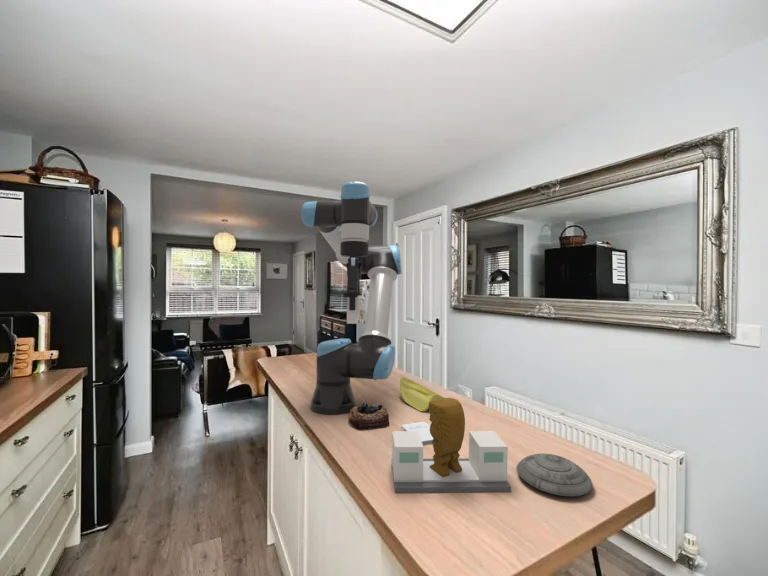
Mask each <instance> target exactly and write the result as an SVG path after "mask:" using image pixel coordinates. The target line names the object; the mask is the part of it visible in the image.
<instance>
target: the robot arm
mask: <svg viewBox="0 0 768 576" xmlns="http://www.w3.org/2000/svg"><path fill="white" fill-rule="evenodd" d="M370 194H371V193H370V186H369V185H368V184H367V183H365V182H361V181H348V182H345V183H343V185H342V186H341V191H340V200H323V201H322V200H321V201H317V200H315V201H307V202H304V203H303V204H302V206H301V212H300V213H301V214H300V216H301V221H302V223H303V226H305V227H308V228H309V227H310V228H317V230H318V231H319V232H320V234H321V235H322V237H323V238H324V239H325V241H326V242H327V243H328V244H329V246H330V247H331V249H332V250H333V251H334V253H335V257H336V260H337V261H338V262H339V263H340V264H341V265H342V266H343V267H345V268H346V277H347V281H346V282H347V284H346V285H347V286H346V287H347V288H346V292H343V293H344V294H343V295H344V298H346V324H348V325H349V324H352V325H354V324H355V325H358V323H359V319H360V315H361V314H360V313H361V312H360V305H361V304H360V303H361V299H360V298H361V297H362V296H363V292H362V291H361V290H360V285H361V284H360V279H361V277H362V275H364V274H365V275H367V277H368V278H369V279H370V284H369V290H368V300H367V307H366V312H365V313H366V314H365V321H364V329H363V334H362V335H360V336H359V338H358V341H357V343H352V341H351V338H335V339H329V340H325V341H321V342H320V343H318V345H317V347H316V355H315V357H316V382H315V383H316V384H315V385H316V386H315V388H314V392H313V395H312V397H311V400H310V408H311V411H313V412H315V413H317V414H323V415H340V414H344V413H348V412H350V410H351V409H352V408H353V407H356V398H355V396H354V392H353V388H352V386H351V379H365V380H374V381H377V380H386V379H388V378H389V377H390V376H391V374H392V372H393V368H394V364H395V358H396V357H395V356H396V347H395V345H393V344H392V339H391V338H390V337H388V336H389V335H388V334H389V327H390V326H389V325H390V314H391V305H392V304H391V303H392V294H393V284H394V283H393V282H395V281H396V280H397V278H398V275H401V274H402V271H403V270H402V260H401V251H400V248H399V246H397V244H396V245H395V244H387V245H386V244H384V245H383V244H382V245H381V244H377V245H376V244H375V245H374V244H372V245H371V244H369V242H368V241H369V240H370V228H371V227H373V226H374V225H375V224H376V223H377V220H378V211H377V208H376V207H375V205H374V204H373V203H372V202H371V201H370V196H371V195H370ZM360 296H361V297H360Z"/></svg>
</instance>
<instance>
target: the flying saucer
mask: <svg viewBox="0 0 768 576" xmlns="http://www.w3.org/2000/svg"><path fill="white" fill-rule="evenodd" d="M516 472H517V474H518V476H519V477H520V479H522V480H523V481H524V482H526V483H527V484H529V485H530V486H531V487H533V488H535V489H537V490H540V491H542V492H545V493H548V494H552V495H556V496H562V497H579V496H583V495H586V494H589V493H590V492H591V491H592V489H593V487H594V486H593V485H594V484H593V481H592V479H591V478H590V476H589V475H588V473H587V472H586V471H585V470H584V469H583V468H582V467H580V466H579V465H578V464H576V463H575V462H573V461H571V459H567V458H565V457H563V456H560V455H556V454H551V453H541V452H540V453H534V454H530V455H527V456H525V457H524V458H522V459H521V460H520V461H519V462H518V463H517V465H516Z"/></svg>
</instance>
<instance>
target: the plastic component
mask: <svg viewBox="0 0 768 576" xmlns="http://www.w3.org/2000/svg"><path fill="white" fill-rule="evenodd" d="M399 391H400V395H401V398H402V400H403V401H404V402H405V403H406V404H408V405H409V406H410V407H413V408H414V409H416V410H417V411H418V412H420V413H421V412H422V413H423V412H427V410H429V402H430V401H433V400H439V399H443V398H446V397H444V396H442V395H440V394H439V393H438V392H437V393H436V392H435V391H433V390H431V389H429V388H427V387H426V386H424V385H421V384H420V383H417V382H415V381H413V380H412V379H409V378H406V377H404V376H402V377H401V378H400V380H399Z"/></svg>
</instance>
